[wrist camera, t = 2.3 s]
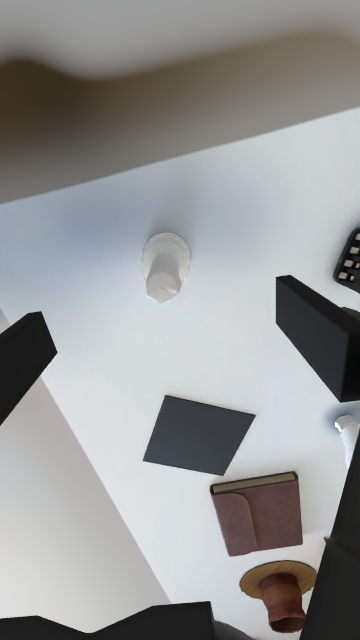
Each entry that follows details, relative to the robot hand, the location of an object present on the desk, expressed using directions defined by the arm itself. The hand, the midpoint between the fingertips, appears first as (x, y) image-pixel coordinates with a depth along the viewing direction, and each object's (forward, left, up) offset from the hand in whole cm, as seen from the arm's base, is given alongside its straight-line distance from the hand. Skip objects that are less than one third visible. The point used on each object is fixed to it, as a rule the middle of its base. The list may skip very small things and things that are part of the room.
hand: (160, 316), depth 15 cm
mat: (+12, -26, -17) cm, 33 cm away
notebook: (+29, -41, -17) cm, 53 cm away
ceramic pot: (+44, -64, -17) cm, 79 cm away
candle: (0, 0, -17) cm, 17 cm away
